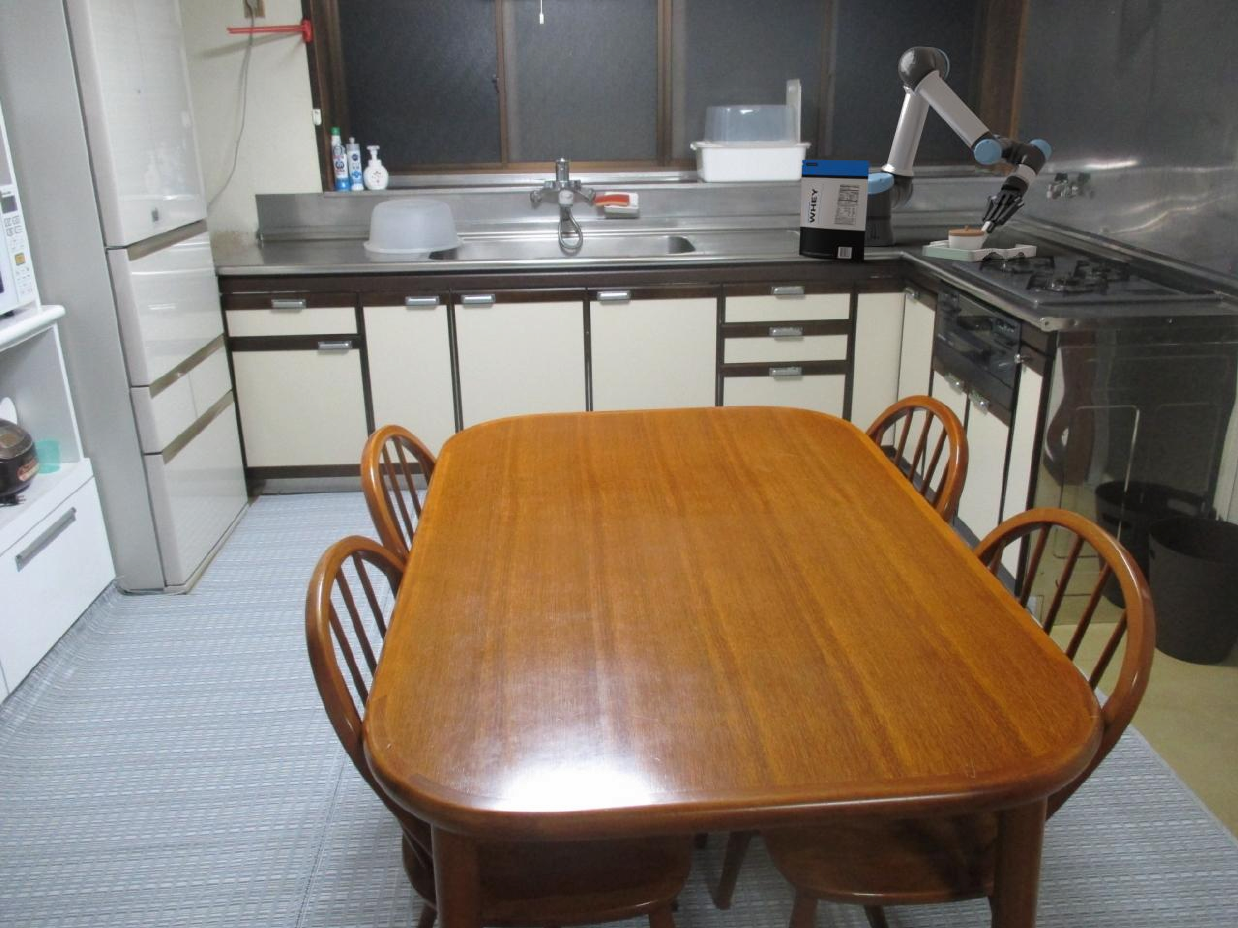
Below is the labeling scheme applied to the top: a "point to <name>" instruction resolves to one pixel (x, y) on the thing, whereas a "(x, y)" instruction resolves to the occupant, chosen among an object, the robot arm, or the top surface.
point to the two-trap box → (972, 252)
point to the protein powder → (833, 209)
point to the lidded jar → (966, 239)
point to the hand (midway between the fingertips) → (979, 240)
